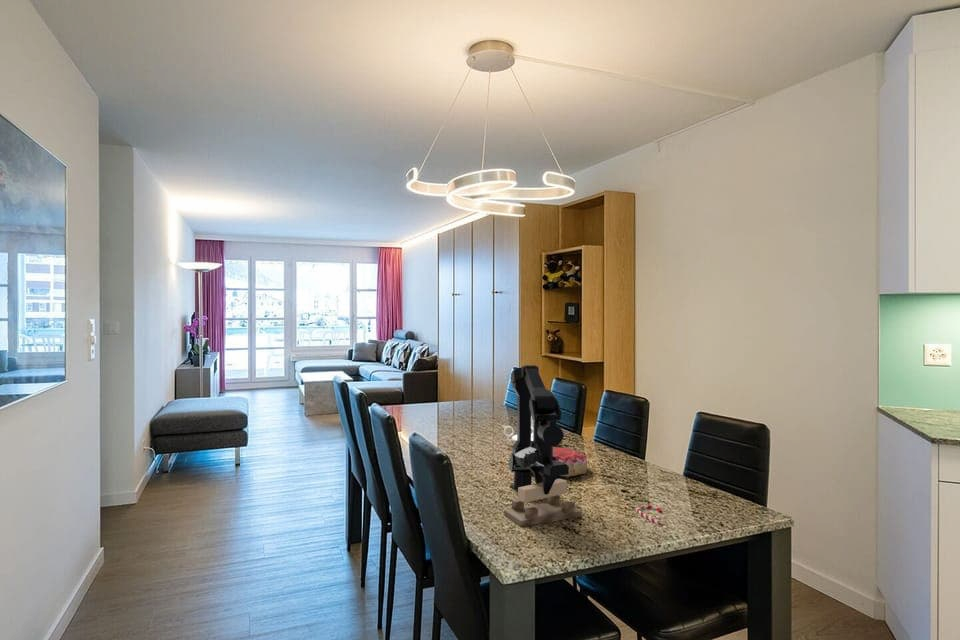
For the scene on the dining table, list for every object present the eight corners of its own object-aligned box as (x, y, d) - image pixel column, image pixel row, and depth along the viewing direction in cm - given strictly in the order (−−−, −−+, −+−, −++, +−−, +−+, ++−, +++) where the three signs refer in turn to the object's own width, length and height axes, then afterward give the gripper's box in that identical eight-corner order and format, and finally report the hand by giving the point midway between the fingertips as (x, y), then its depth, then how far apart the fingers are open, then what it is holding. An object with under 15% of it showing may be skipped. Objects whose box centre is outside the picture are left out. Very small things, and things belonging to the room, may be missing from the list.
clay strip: (524, 502, 160) (524, 490, 160) (517, 499, 163) (518, 487, 162) (566, 492, 169) (567, 480, 169) (559, 490, 172) (560, 478, 172)
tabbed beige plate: (520, 526, 157) (520, 511, 157) (504, 514, 166) (504, 501, 166) (582, 516, 165) (582, 502, 165) (563, 505, 175) (563, 492, 174)
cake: (513, 473, 206) (515, 450, 206) (526, 459, 230) (527, 439, 231) (583, 483, 200) (585, 460, 200) (589, 468, 224) (590, 447, 224)
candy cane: (649, 522, 158) (631, 504, 173) (649, 527, 158) (631, 509, 173) (677, 522, 159) (657, 504, 174) (677, 527, 159) (657, 508, 174)
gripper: (503, 434, 171) (503, 486, 171) (535, 447, 154) (534, 506, 154) (536, 431, 175) (535, 482, 176) (570, 444, 158) (570, 500, 159)
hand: (542, 492), depth 166 cm, fingers closed on clay strip, 3 cm apart
